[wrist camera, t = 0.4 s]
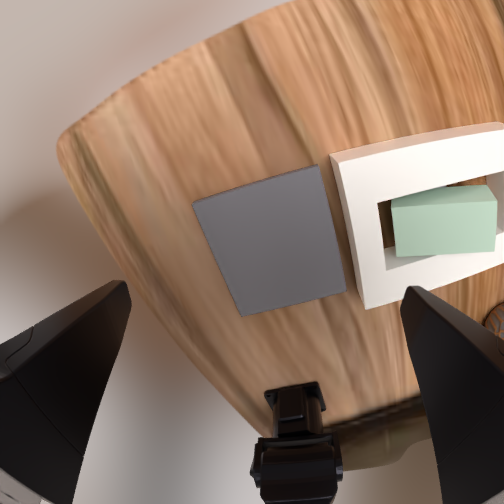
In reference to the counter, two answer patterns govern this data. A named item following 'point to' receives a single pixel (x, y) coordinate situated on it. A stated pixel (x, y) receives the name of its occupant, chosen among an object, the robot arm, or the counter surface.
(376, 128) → the counter surface
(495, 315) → the vase
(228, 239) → the rubber mat
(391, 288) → the white rectangular frame
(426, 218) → the sage block
